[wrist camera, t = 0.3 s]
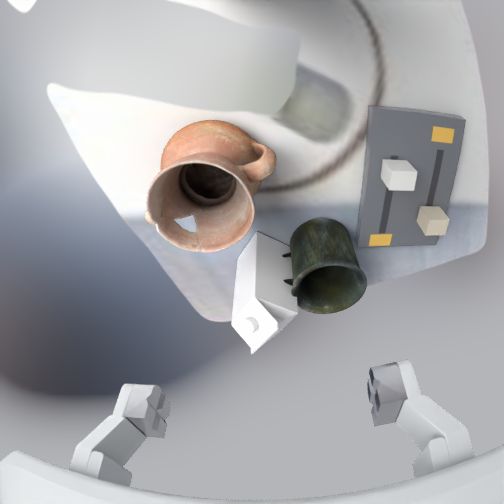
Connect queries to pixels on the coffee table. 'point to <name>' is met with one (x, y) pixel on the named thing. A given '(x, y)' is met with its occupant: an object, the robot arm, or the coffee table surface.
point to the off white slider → (398, 175)
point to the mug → (324, 267)
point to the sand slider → (432, 220)
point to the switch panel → (424, 162)
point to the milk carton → (263, 291)
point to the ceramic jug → (208, 185)
